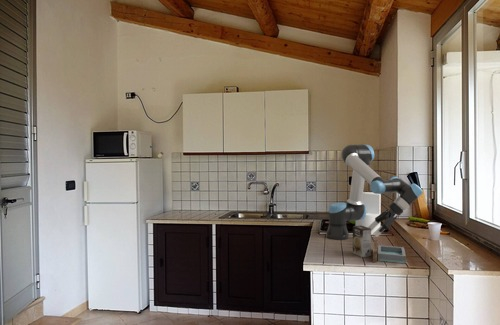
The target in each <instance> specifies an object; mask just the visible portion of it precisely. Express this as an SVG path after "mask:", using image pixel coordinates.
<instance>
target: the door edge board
mask: <svg viewBox="0 0 500 325" xmlns="http://www.w3.org/2000/svg"><path fill="white" fill-rule="evenodd" d="M378 245H379V244H378V240H376V239H374V240H373V245H372V246H373V247H372V248H373V249H372V262H373V263H376V262H377V263H378Z"/></svg>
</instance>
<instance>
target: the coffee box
mask: <svg viewBox="0 0 500 325" xmlns="http://www.w3.org/2000/svg"><path fill="white" fill-rule="evenodd" d="M352 254H354V255H356V256H359V257H361V258H368V257H371V256H372V255H371V254H372V235H371V229H370V228H367V227H364V226H356V225H353V226H352Z"/></svg>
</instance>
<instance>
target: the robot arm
mask: <svg viewBox="0 0 500 325" xmlns="http://www.w3.org/2000/svg"><path fill="white" fill-rule="evenodd" d="M340 156H341V160H342V161H343V163H344V164H345V165H346V166H348V167H351V168H352V174H351V183H350V190H349V198H348V199H346V202H344V201H343V202H341V201H340V202H333V203H331V204H329V207H328V228H327V231H326V234H325V236H326V237H327V239H332V240H341V241H342V240H347V239H349V238H350V234H349V230H348V227H347V222H349V221H353V220H361V219H363V218H364V217H365V215H366V206H365V205H364V202H363V201H362V197H363V192H364V190H365V189H364V187H365V182H367V183H368V184H369V186H370V188H369V189H370V191H371V192H373V193H375V194H381V195H382V194H394V193H397V194H399V196H397V197H396V198H395V199H394V201H393V202H392V203H391V204H390V205H389V206H388V208H389V209H388V208H387V209H386V210H384V211H383V212H381V214H380V215H379V216H377V217H376V218H375V221H374V222H373V223H372V224H371V225H370V226H369V227H367V228H370V229H371V231H372V230H373V229H374V228H375V227H376V226H377V225H378V224H379V223H380V224H381V225H380V227H379V228H378V229H377V230H376V231H375V232H374V233H373V234H374V235H373V236H375V237H376V238H378V237H379V236H380V235H381V234H382V233H383V232H384V231H385V230H389V229H390V228H391V226H392V224H393V223H394V222H395V220H396V219H397V218H398V216H401V214H403V213H404V211H406V210H408V209H409V207H410V206H411V205H413V203H414V202H415V201H417V199H419V198H420V197H421V195H422V194H423V189H422V188H421V187H420V186H419V185H417V184H416V183H411V184H408V183H407V182H405V181H404V180H403V179H402V178H400V177H398V176H392V177H391V178H389V179H383V177H381V176H380V175H379V174H378V173H377V172H375V170H373V169H372V168H371V167H370V163H371V162H373V160H375V151H374V148H373V147H372V146H371V145H369V144H347V145H346V146H344V147H343V149H342V150H341V155H340ZM382 221H384V222H383V223H381V222H382Z"/></svg>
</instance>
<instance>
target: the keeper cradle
mask: <svg viewBox="0 0 500 325" xmlns="http://www.w3.org/2000/svg"><path fill="white" fill-rule="evenodd" d="M386 261H387V262H388V263H398V264H406V263H407V256H406V251H405V247H403V246H390V245H380V244H378V250H377V262H386ZM387 262H386V263H387Z"/></svg>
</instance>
